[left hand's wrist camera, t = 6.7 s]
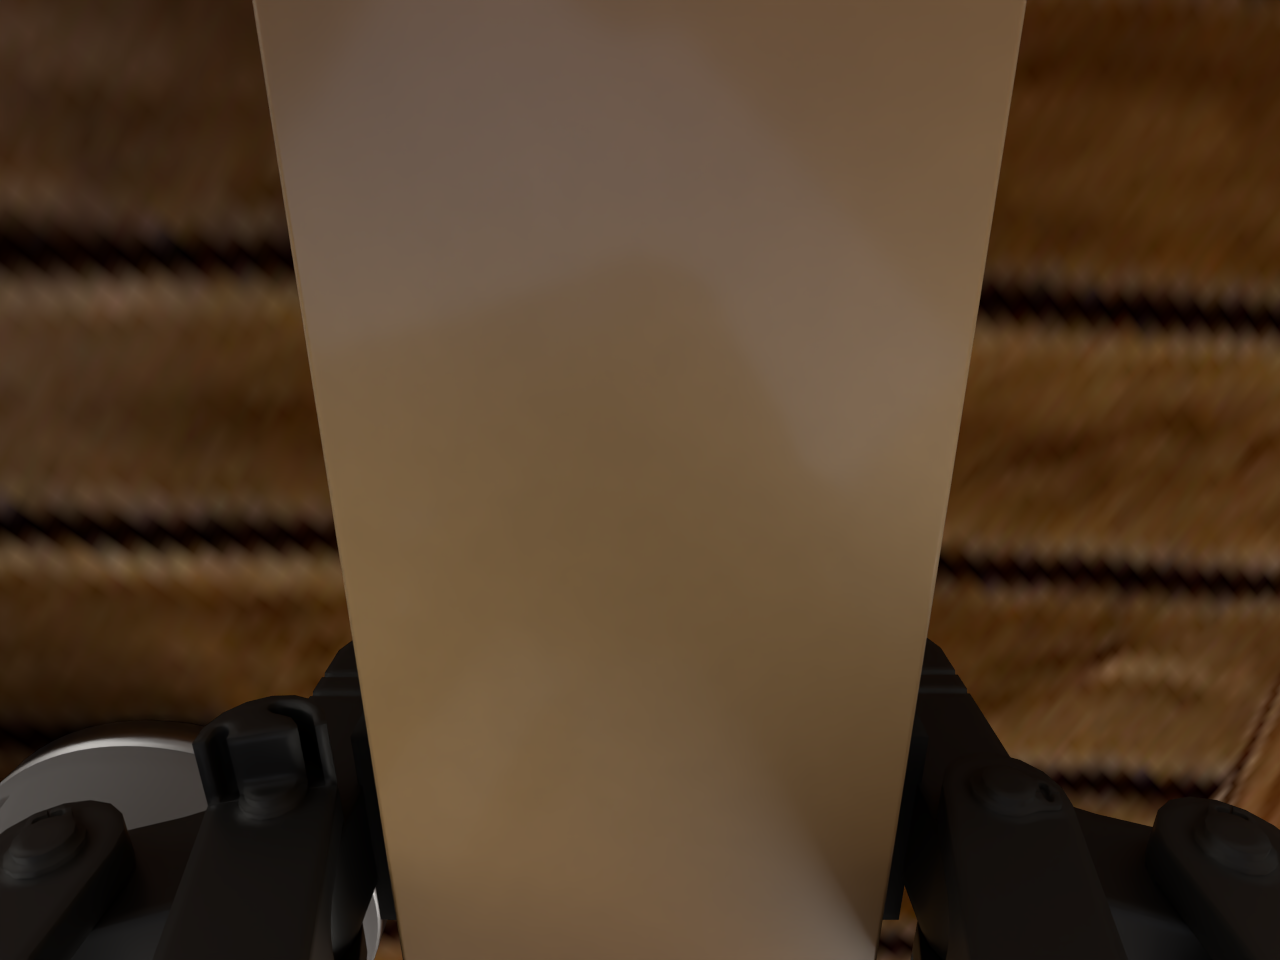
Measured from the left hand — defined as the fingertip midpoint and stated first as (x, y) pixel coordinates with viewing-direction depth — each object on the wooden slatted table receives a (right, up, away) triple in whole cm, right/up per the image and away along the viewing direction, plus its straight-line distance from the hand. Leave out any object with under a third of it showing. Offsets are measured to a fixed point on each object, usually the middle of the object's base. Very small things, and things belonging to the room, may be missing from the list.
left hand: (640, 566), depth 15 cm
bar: (0, +8, -2) cm, 8 cm away
